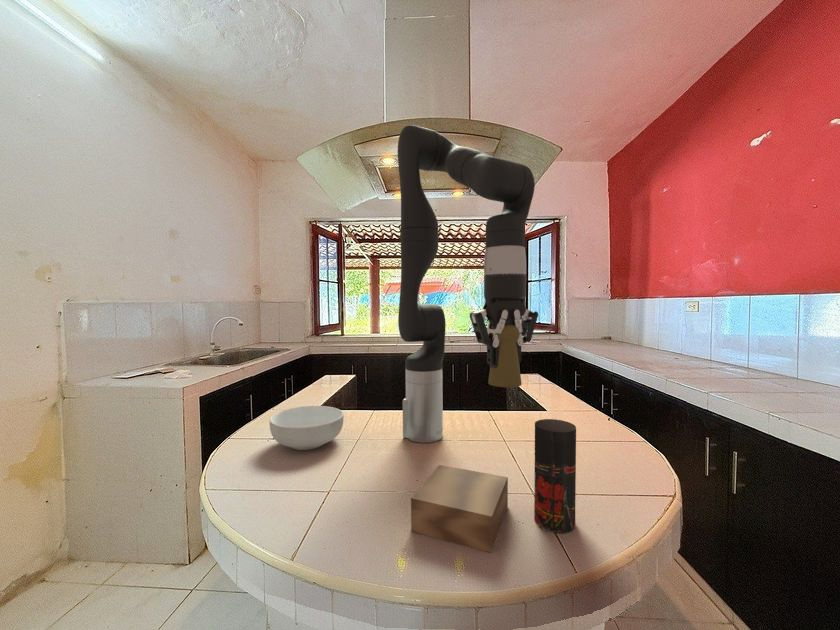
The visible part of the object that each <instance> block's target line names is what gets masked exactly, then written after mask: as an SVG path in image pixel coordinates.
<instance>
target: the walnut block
mask: <svg viewBox="0 0 840 630" xmlns="http://www.w3.org/2000/svg"><path fill="white" fill-rule="evenodd" d="M508 480H509V477H507V476H504V475H497V474H492V473H488V472H487V473H486V472H482V471H481V472H480V471H476V470H469V469H464V468H459V467H453V466H447V465H442V464H439V465H438V466H437V467H436V468H435V469H434V470H433V472H431V474H430V475H429V476H428V478H427V479H426V480H425V481H424V482H423V483H422V484H421V486H420V487H419V488H418V489H417V490H416V491H415V492H414V493H413V495H412V496H411V498H410V531H411V532H412V533H416V534H420V535H424V536H428V537H432V538H436V539H440V540H443V541H447V542H450V543H454V544H458V545H462V546H466V547H470V548H473V549H475V550H480V551H484V552H488V553H493V550H494V547H495V544H496V542H497V539H498V536H499V533H500V530H501V527H502V525H503V521H504V518H505V516H506V513H507V510H508V506H509V498H508V494H509V493H508V492H509V490H508V489H509V483H508Z"/></svg>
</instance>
